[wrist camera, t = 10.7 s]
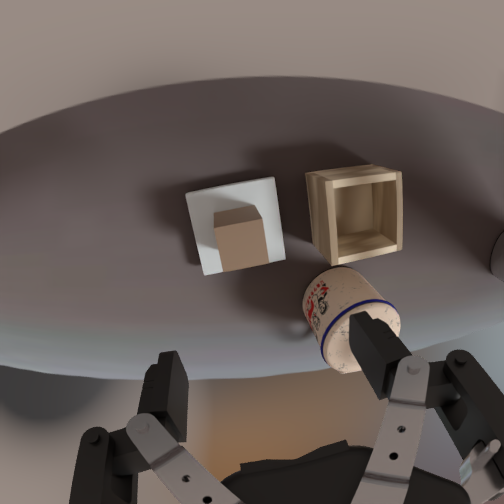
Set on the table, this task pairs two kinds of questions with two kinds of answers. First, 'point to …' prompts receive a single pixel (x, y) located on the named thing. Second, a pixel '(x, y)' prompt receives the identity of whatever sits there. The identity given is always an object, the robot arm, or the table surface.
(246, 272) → the table surface
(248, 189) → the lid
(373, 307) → the teacup with lid
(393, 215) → the box
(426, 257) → the table surface
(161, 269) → the table surface
